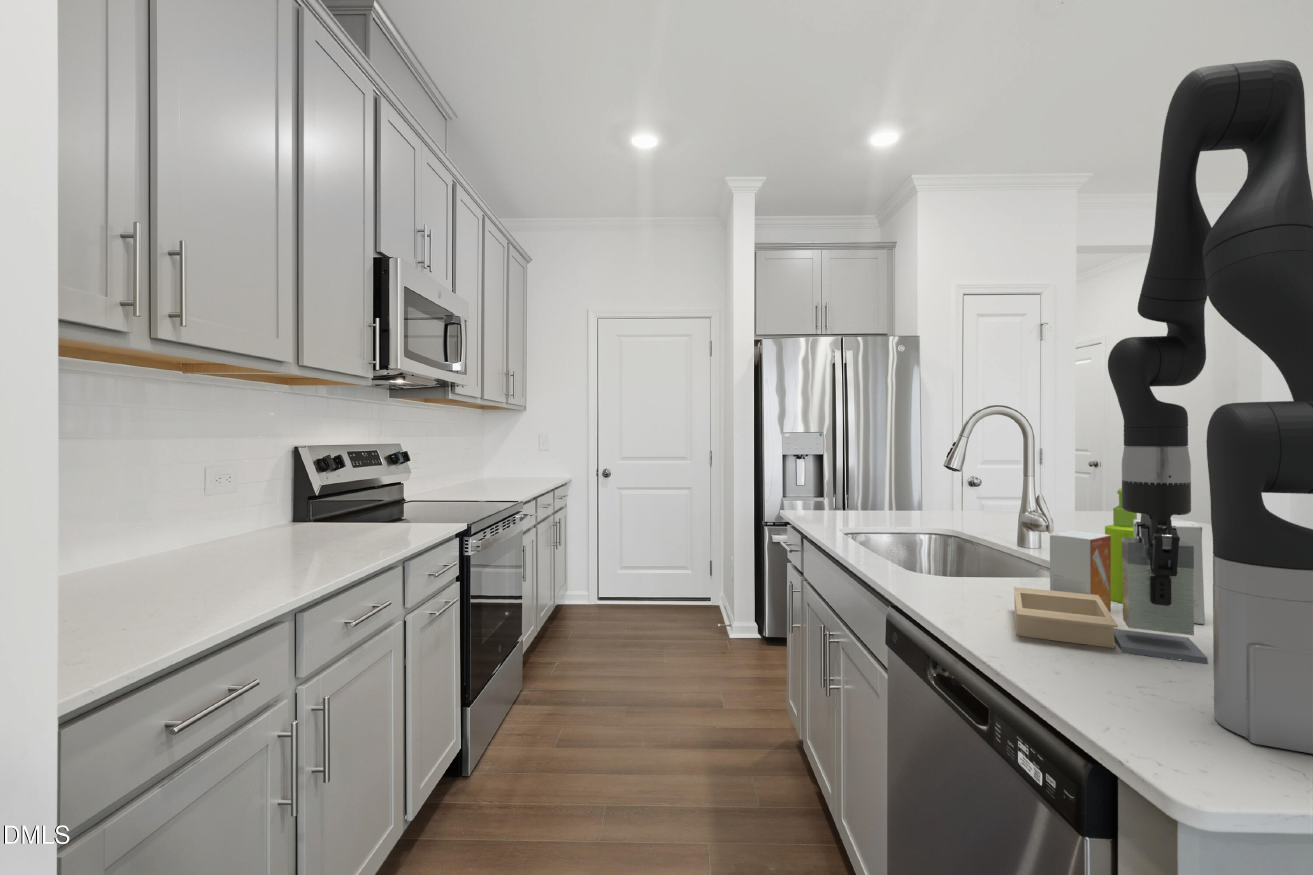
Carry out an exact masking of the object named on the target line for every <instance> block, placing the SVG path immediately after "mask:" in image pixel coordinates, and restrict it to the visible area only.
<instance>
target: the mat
mask: <svg viewBox="0 0 1313 875" xmlns="http://www.w3.org/2000/svg"><path fill="white" fill-rule="evenodd" d="M1114 643H1115V644H1116V645H1117V647H1118V648H1119V650H1120V652H1121V653H1125V654H1130V653H1133V654H1132V655H1138V654H1139V655H1140V654H1141V655H1140V656H1145V655H1149V656H1148V657H1153V656H1155V657H1154V658H1160V657H1166V658H1165V659H1168V658H1173V659H1172V660H1176V659H1181V660H1180V661H1183V660H1187V661H1186V662H1191V661H1195V662H1194V663H1198V662H1200V664H1207V665H1208V663H1209V662H1208V656H1207V655H1206V654H1204V652H1203V651H1202V650H1201V649H1200V647H1199V646H1197V645H1196V644H1195V643H1194V641H1193V640H1192V639H1190V637H1187V636H1178V635H1171V634H1162V633H1153V632H1144V631H1138V630H1130V629H1129V630H1128V629H1120V628H1114ZM1139 655H1138V656H1139Z"/></svg>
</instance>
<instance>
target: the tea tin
mask: <svg viewBox="0 0 1313 875" xmlns="http://www.w3.org/2000/svg"><path fill="white" fill-rule="evenodd" d="M1149 551H1150V552H1151V553H1153V549H1152V548H1151V546H1150V544H1149ZM1122 564H1123V603H1122V620H1123V622H1124V623H1125V624H1126V626H1127V628H1128V629H1133V630H1142V631H1143V630H1144V631H1151V632H1152V631H1153V632H1158V633H1159V632H1160V633H1169V634H1170V633H1171V634H1177V635H1187V636H1195V623H1194V587H1193V569H1194V546H1192V545H1190V544H1189V543H1187V542H1185V541H1179V549H1178V563H1177V572H1178V573H1177V576H1176V577H1175V576H1173V579H1171V605H1169V606H1164V605H1155V604H1152V603H1151V601H1150V576H1149V574H1148V570H1149V561H1148V560H1147V559H1146V558H1145V557H1144V543H1143V542H1142V540H1139V539H1138V538H1123V537H1122ZM1158 566H1164V567H1167V562H1166V561H1165V560H1159V563H1158Z"/></svg>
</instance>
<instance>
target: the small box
mask: <svg viewBox="0 0 1313 875" xmlns="http://www.w3.org/2000/svg"><path fill="white" fill-rule="evenodd" d="M1049 590H1050V591H1061V592H1071V593H1081V594H1092V595H1099V597H1100V598H1101V600H1102V601H1103V603H1104V605H1105V606H1106V608H1107V609H1108V611H1109V612H1110V611H1111V608H1112V607H1111V606H1112V601H1111V535H1106V534H1105V533H1104V534H1103V533H1097V532H1089V531H1079V530H1069V531H1061V532H1058V533H1054V534H1049Z"/></svg>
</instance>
